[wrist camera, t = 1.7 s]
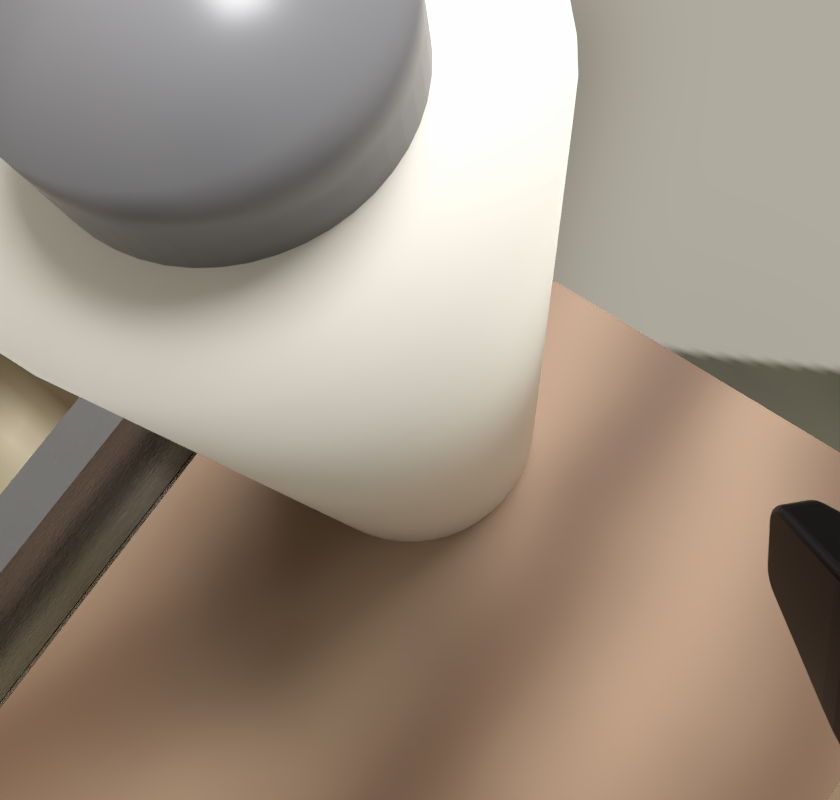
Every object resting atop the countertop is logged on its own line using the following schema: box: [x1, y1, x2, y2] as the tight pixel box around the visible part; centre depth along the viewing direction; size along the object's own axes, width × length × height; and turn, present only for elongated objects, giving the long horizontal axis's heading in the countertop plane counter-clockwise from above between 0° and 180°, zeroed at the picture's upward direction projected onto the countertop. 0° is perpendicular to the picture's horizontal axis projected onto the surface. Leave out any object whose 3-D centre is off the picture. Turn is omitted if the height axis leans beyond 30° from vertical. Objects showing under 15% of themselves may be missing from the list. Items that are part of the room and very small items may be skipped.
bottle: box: [0, 0, 578, 542], centre depth 12 cm, size 6×6×14 cm
